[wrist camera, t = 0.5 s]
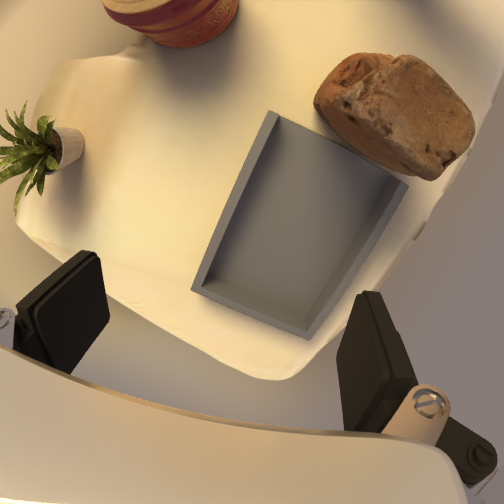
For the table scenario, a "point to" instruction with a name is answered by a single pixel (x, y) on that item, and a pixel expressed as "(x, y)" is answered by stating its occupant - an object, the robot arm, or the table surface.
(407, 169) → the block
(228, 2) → the canister
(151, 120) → the table surface
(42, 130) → the house plant
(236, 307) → the tray
